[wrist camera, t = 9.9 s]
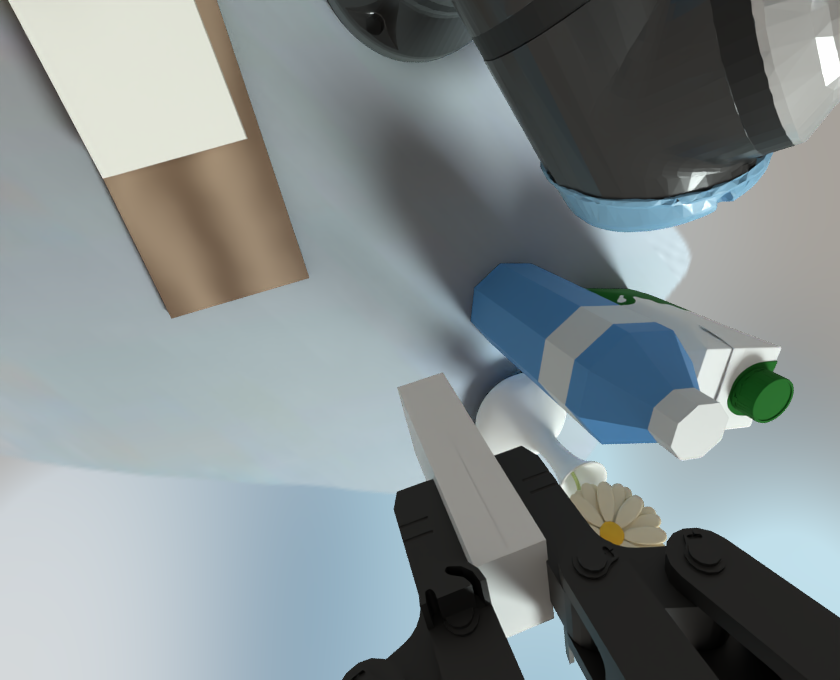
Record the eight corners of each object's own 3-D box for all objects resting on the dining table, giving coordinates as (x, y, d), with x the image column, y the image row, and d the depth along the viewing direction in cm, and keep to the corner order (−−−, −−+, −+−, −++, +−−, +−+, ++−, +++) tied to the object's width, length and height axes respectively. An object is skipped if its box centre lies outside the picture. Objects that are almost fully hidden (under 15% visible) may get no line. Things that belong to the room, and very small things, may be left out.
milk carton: (618, 351, 57) (775, 446, 40) (552, 353, 54) (689, 456, 37) (636, 280, 54) (816, 349, 36) (568, 279, 51) (726, 352, 34)
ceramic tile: (246, 138, 34) (158, -91, 28) (102, 178, 33) (-21, -55, 27) (248, 138, 37) (168, -69, 31) (116, 175, 35) (7, -37, 30)
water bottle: (453, 328, 50) (604, 480, 27) (495, 245, 47) (695, 339, 25) (522, 354, 53) (703, 507, 31) (564, 279, 51) (790, 386, 29)
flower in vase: (569, 369, 56) (766, 518, 34) (541, 451, 60) (702, 633, 38) (470, 360, 52) (621, 526, 30) (446, 450, 55) (566, 656, 33)
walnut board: (193, -69, 32) (191, -74, 32) (308, 275, 43) (309, 277, 42) (1, -39, 30) (-5, -43, 29) (173, 315, 41) (171, 318, 40)
